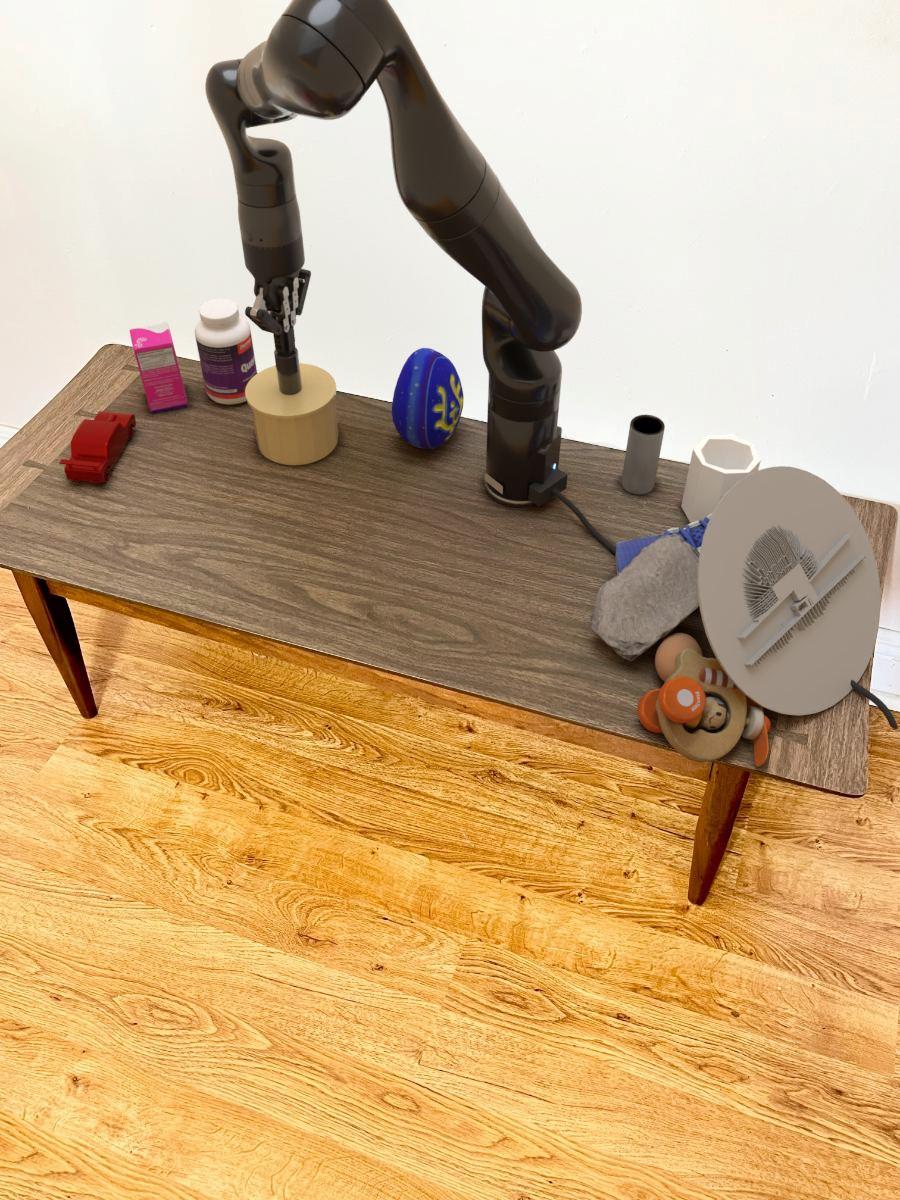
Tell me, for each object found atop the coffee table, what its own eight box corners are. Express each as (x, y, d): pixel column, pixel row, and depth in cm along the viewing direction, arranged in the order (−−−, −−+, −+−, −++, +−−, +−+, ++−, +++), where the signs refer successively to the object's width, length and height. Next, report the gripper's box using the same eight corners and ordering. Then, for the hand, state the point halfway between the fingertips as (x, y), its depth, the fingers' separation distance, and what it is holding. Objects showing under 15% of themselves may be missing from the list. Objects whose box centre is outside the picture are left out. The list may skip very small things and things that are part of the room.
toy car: (105, 490, 148) (96, 461, 144) (66, 486, 148) (57, 458, 145) (139, 429, 158) (132, 401, 154) (102, 425, 158) (95, 398, 154)
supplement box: (145, 393, 164) (128, 327, 155) (184, 386, 165) (169, 320, 157) (149, 414, 160) (132, 348, 152) (189, 407, 161) (174, 341, 153)
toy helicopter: (649, 708, 111) (755, 790, 111) (747, 564, 118) (846, 641, 118) (622, 723, 119) (721, 800, 118) (715, 587, 126) (809, 659, 126)
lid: (352, 382, 152) (349, 338, 147) (308, 432, 144) (302, 387, 139) (276, 361, 156) (270, 318, 150) (228, 408, 148) (220, 364, 143)
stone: (577, 619, 129) (637, 676, 126) (573, 610, 125) (635, 669, 122) (667, 529, 129) (729, 584, 126) (665, 517, 125) (730, 574, 122)
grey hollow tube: (628, 497, 147) (638, 437, 139) (616, 477, 150) (625, 417, 142) (659, 491, 148) (670, 431, 140) (646, 471, 151) (656, 411, 143)
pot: (352, 428, 158) (348, 379, 152) (312, 474, 150) (306, 424, 144) (284, 408, 161) (277, 360, 155) (242, 452, 154) (233, 403, 148)
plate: (773, 765, 117) (782, 766, 116) (656, 545, 111) (664, 543, 110) (910, 628, 129) (919, 627, 128) (811, 424, 124) (819, 422, 123)
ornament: (435, 470, 151) (434, 381, 140) (380, 450, 154) (375, 361, 143) (473, 429, 158) (475, 340, 147) (419, 410, 161) (417, 322, 150)
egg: (647, 691, 123) (652, 647, 128) (694, 702, 123) (697, 657, 127) (659, 661, 119) (663, 616, 124) (707, 672, 119) (710, 627, 123)
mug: (742, 537, 141) (758, 479, 134) (677, 525, 143) (689, 467, 136) (750, 480, 149) (765, 423, 142) (688, 469, 151) (700, 412, 144)
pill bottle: (255, 408, 161) (242, 324, 151) (202, 407, 161) (185, 323, 151) (263, 377, 167) (251, 294, 156) (211, 376, 167) (196, 293, 156)
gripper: (268, 260, 127) (284, 383, 139) (324, 213, 135) (334, 333, 148) (215, 247, 129) (235, 369, 142) (273, 202, 138) (287, 321, 150)
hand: (286, 351), depth 145 cm, fingers closed
